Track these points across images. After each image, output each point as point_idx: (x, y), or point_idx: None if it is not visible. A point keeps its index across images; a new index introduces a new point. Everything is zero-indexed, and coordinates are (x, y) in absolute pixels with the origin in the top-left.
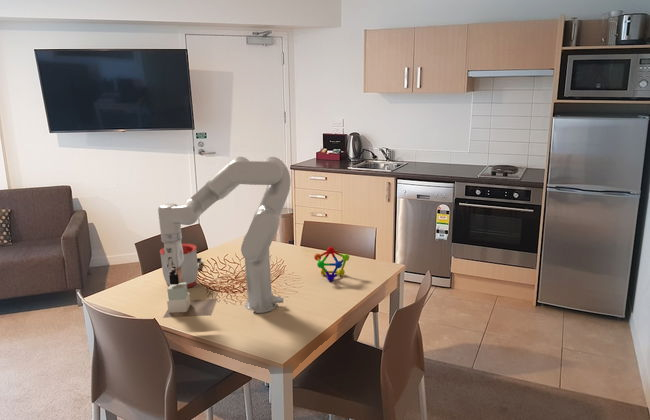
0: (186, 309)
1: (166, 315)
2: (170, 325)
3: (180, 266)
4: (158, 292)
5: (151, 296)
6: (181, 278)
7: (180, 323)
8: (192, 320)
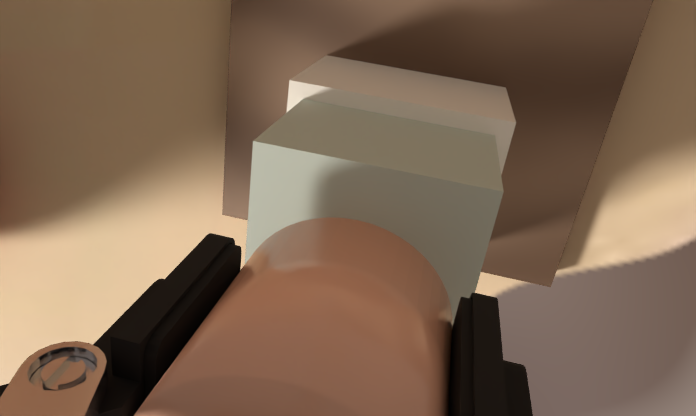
0: (504, 92)
1: (519, 261)
2: (684, 219)
3: (77, 387)
4: (23, 301)
5: (87, 342)
6: (390, 273)
7: (685, 135)
8: (671, 19)
